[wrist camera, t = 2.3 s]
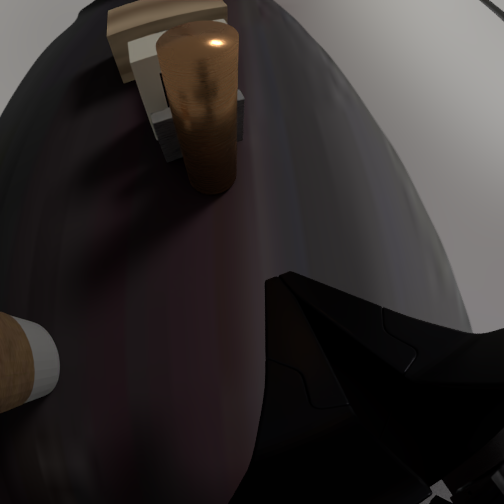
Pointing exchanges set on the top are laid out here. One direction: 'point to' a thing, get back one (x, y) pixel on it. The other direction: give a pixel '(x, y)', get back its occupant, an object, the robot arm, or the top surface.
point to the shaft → (201, 102)
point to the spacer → (149, 72)
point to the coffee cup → (25, 362)
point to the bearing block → (154, 23)
